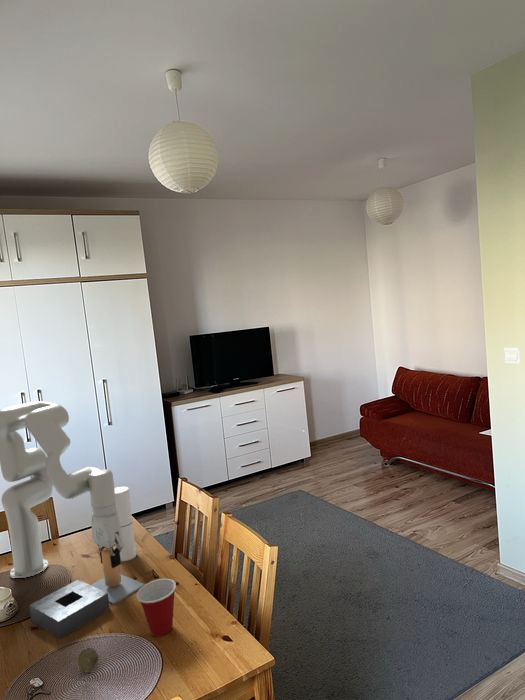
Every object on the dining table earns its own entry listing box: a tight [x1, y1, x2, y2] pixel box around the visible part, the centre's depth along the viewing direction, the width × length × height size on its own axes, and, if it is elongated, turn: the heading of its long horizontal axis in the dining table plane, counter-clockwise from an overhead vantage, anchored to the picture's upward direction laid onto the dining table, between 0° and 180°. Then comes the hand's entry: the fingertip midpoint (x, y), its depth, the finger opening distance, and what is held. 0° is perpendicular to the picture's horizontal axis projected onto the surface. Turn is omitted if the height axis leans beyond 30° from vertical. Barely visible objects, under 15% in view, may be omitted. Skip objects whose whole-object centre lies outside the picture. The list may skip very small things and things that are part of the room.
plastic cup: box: [136, 578, 177, 637], centre depth 140 cm, size 11×11×12 cm
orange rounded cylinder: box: [100, 546, 122, 587], centre depth 165 cm, size 5×5×11 cm
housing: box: [29, 579, 111, 640], centre depth 152 cm, size 16×16×5 cm
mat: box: [90, 574, 145, 605], centre depth 165 cm, size 16×12×1 cm
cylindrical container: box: [114, 486, 137, 562], centre depth 186 cm, size 7×7×25 cm
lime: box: [77, 647, 99, 673], centre depth 127 cm, size 4×5×5 cm
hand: (111, 563), depth 165 cm, fingers closed on orange rounded cylinder, 4 cm apart
